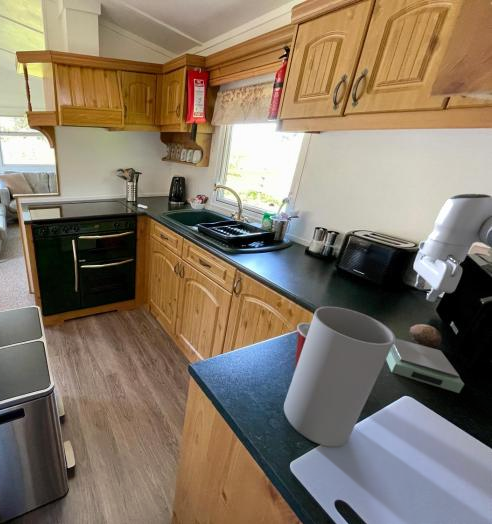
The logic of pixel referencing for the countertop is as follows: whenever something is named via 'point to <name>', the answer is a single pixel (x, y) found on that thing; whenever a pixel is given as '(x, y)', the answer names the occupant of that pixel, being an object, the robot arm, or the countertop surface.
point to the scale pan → (423, 357)
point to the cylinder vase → (336, 374)
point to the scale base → (423, 374)
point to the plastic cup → (301, 338)
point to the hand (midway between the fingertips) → (423, 294)
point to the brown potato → (425, 335)
